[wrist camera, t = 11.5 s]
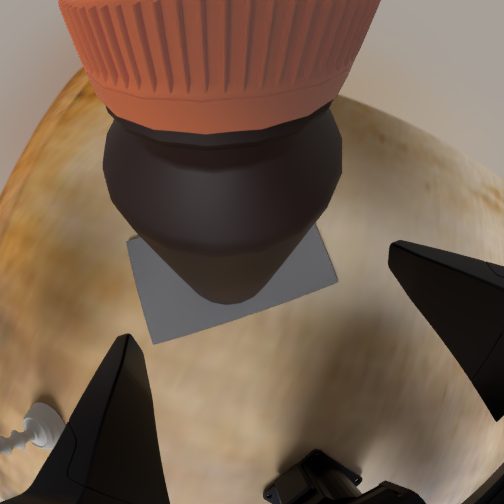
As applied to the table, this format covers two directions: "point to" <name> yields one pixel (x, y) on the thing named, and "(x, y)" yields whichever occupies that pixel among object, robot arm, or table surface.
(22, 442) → the chalice
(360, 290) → the table surface
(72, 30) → the vinegar
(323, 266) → the mat
